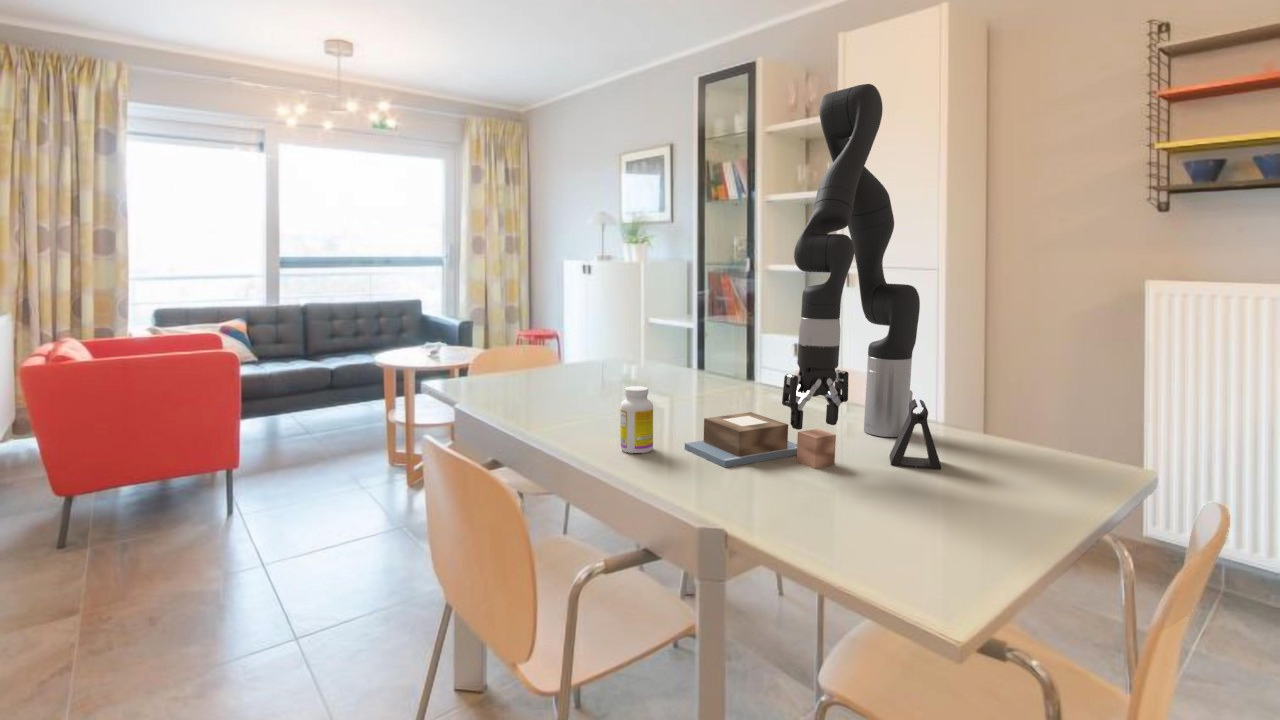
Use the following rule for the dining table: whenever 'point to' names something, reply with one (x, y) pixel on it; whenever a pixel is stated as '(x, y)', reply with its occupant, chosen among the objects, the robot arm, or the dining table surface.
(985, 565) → the dining table surface
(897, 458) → the phone stand
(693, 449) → the base
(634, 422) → the supplement bottle
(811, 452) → the terracotta block
